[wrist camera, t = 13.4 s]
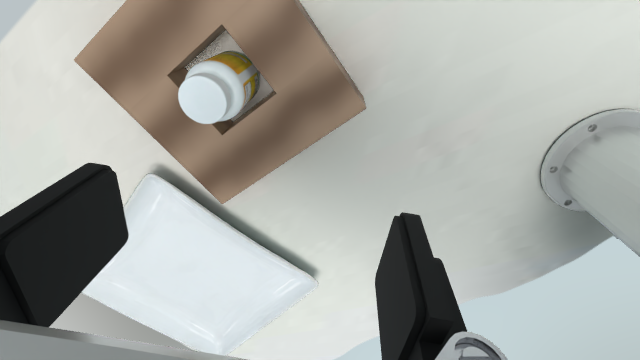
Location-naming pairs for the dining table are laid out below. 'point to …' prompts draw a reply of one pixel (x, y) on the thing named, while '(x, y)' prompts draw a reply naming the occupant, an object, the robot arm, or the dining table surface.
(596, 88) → the dining table surface
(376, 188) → the dining table surface
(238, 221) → the dining table surface
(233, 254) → the square plate
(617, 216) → the robot arm
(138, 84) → the walnut socket block
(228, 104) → the supplement bottle
